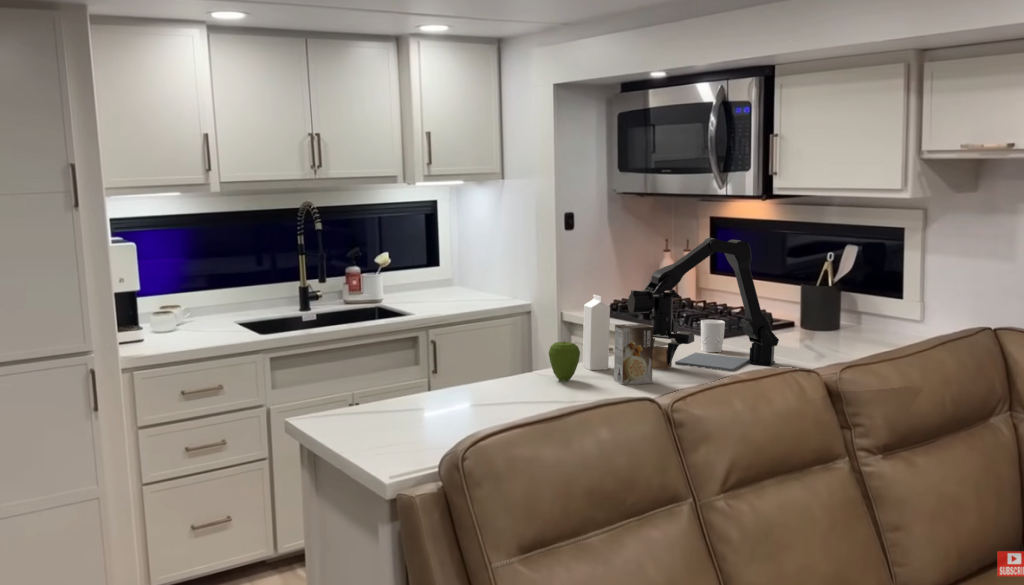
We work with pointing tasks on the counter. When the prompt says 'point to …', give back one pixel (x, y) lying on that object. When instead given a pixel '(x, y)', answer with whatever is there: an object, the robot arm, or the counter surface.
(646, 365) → the printed cardboard box
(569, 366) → the apple
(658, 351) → the walnut block
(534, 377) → the counter surface
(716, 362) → the slate mat
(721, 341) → the white cup
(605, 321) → the milk
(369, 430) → the counter surface
